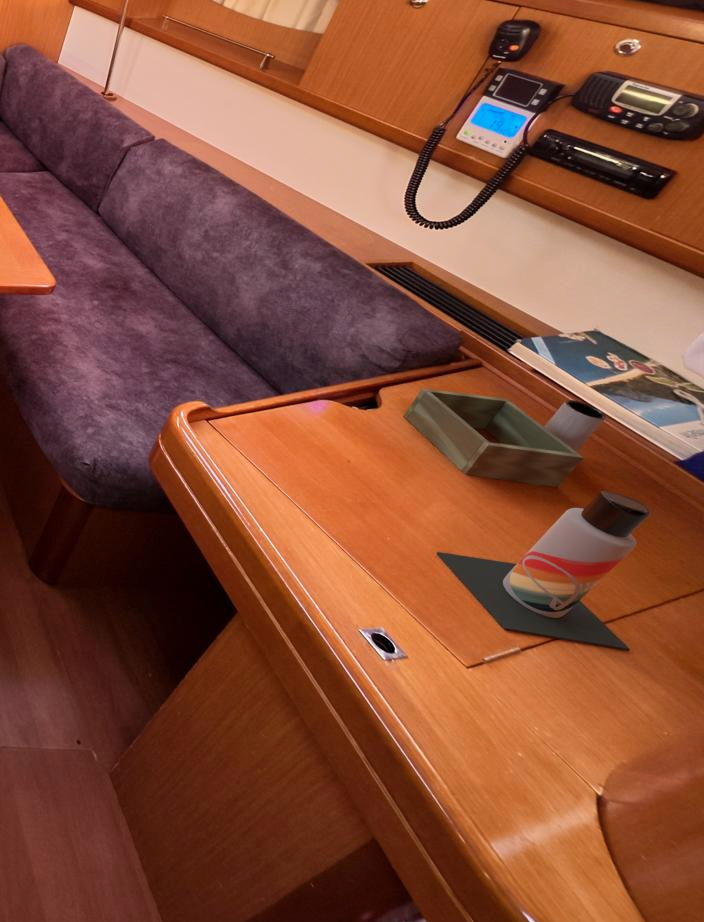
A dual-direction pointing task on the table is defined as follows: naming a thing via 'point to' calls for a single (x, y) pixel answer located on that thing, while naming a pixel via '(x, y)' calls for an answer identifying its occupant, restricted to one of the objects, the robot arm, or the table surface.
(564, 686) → the table surface
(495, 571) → the mat
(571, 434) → the planter
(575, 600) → the striped water bottle
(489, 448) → the basket
